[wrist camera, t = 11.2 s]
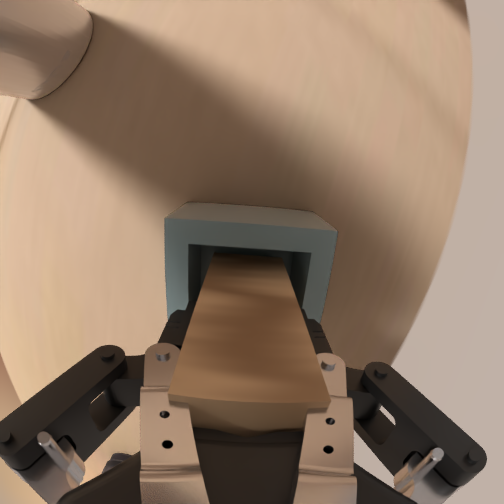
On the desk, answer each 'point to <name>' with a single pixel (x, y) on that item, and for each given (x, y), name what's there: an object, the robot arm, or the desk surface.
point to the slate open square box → (248, 248)
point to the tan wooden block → (248, 352)
